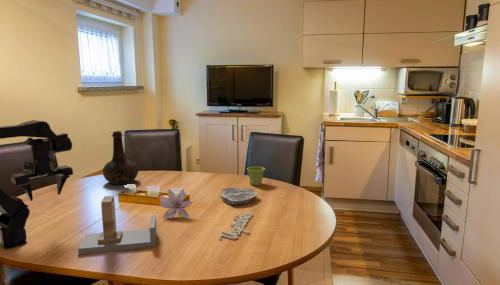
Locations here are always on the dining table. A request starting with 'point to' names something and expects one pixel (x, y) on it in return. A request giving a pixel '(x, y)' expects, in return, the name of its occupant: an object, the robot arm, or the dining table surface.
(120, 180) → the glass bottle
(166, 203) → the water lily
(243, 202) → the brain slice
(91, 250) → the grey l-shaped bracket
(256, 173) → the plant pot
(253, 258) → the dining table surface
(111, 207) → the brown upright panelled block
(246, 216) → the decorative sign
